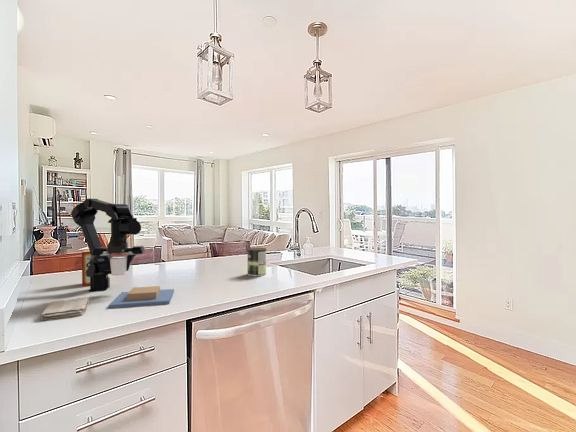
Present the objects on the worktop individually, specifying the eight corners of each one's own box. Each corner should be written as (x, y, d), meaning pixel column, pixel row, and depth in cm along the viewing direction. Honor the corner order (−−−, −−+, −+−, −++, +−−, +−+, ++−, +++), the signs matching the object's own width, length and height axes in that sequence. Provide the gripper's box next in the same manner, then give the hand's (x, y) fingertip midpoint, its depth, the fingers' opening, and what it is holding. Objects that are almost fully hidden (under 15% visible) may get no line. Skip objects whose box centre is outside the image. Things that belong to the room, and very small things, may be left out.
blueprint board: (108, 308, 109) (108, 297, 109) (122, 295, 126) (121, 286, 126) (169, 303, 114) (169, 293, 114) (174, 291, 131) (173, 283, 131)
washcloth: (39, 323, 95) (39, 313, 95) (49, 307, 111) (49, 299, 111) (85, 317, 101) (85, 307, 101) (89, 302, 117) (88, 294, 117)
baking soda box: (82, 286, 141) (81, 251, 141) (82, 283, 147) (82, 249, 146) (106, 283, 146) (106, 249, 146) (105, 281, 152) (105, 248, 152)
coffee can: (248, 276, 161) (248, 250, 161) (246, 273, 171) (246, 247, 171) (267, 275, 164) (267, 249, 164) (264, 272, 174) (264, 247, 174)
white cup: (109, 276, 125) (109, 259, 125) (110, 273, 131) (110, 257, 131) (128, 274, 128) (128, 258, 128) (128, 272, 134) (128, 255, 134)
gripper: (86, 235, 119) (86, 276, 119) (139, 234, 124) (139, 273, 124) (96, 233, 130) (96, 271, 130) (144, 233, 134) (144, 268, 135)
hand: (119, 271), depth 129 cm, fingers closed on white cup, 6 cm apart
